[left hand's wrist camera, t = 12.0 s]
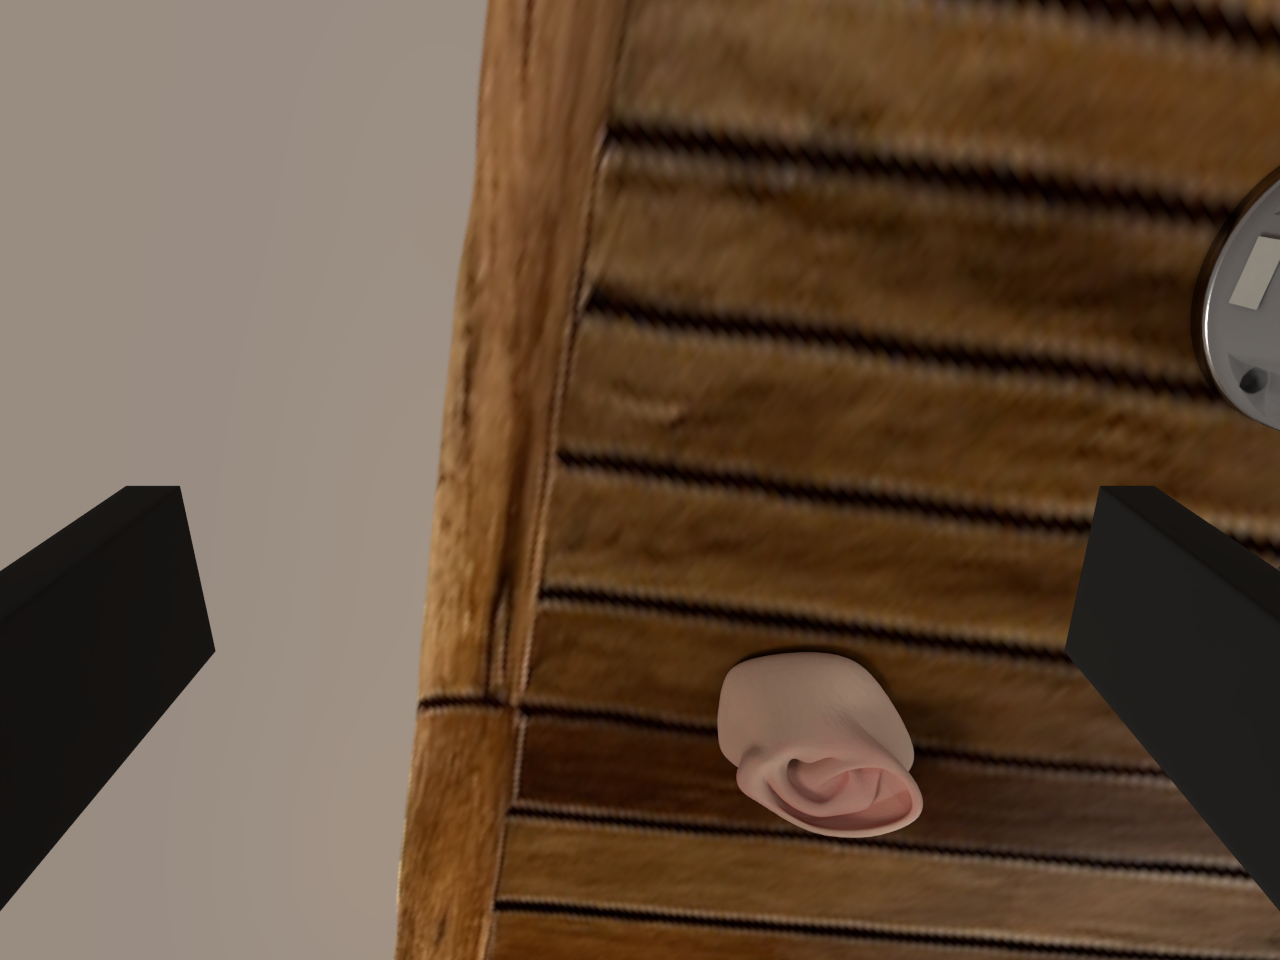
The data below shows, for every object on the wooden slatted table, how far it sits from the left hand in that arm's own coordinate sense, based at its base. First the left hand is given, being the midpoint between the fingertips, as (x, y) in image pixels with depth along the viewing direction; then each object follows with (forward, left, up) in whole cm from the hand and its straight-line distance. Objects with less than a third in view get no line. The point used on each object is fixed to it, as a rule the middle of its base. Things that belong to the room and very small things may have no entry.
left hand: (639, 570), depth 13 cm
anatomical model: (-13, +28, -34) cm, 46 cm away
